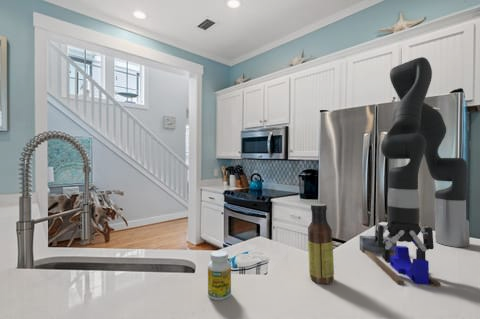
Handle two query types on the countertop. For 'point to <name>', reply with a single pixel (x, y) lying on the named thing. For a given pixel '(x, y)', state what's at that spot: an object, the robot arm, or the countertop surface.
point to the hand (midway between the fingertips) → (403, 262)
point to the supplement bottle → (219, 276)
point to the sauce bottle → (320, 246)
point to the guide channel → (369, 248)
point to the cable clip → (410, 266)
